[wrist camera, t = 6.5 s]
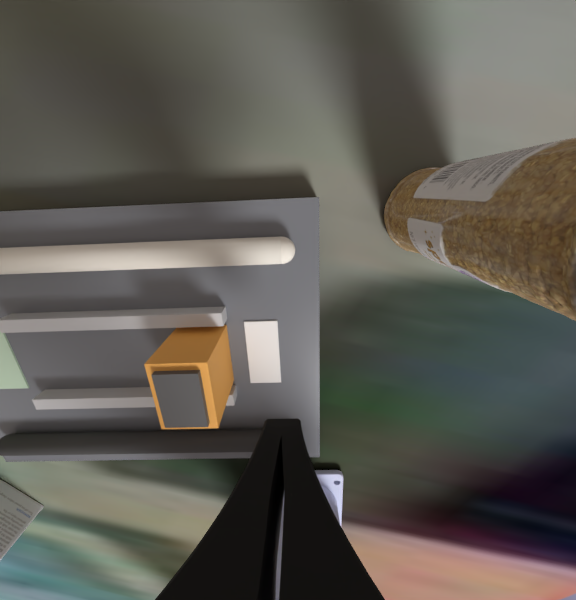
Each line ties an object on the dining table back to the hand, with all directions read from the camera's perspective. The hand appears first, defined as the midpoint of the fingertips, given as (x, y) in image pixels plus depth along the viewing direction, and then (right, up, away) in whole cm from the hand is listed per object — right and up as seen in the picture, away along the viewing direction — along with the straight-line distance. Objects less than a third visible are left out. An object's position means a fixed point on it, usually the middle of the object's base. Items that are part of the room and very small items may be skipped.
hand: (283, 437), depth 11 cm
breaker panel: (-10, +2, +8) cm, 13 cm away
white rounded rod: (-10, +8, +4) cm, 14 cm away
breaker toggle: (-5, +2, +6) cm, 8 cm away
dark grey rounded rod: (-10, -4, +9) cm, 14 cm away
